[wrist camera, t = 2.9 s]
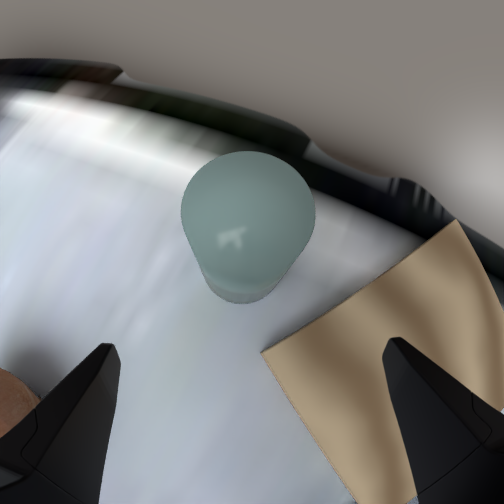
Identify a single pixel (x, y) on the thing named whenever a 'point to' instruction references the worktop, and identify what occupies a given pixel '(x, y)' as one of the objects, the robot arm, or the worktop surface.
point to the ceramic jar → (246, 223)
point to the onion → (14, 401)
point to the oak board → (371, 366)
